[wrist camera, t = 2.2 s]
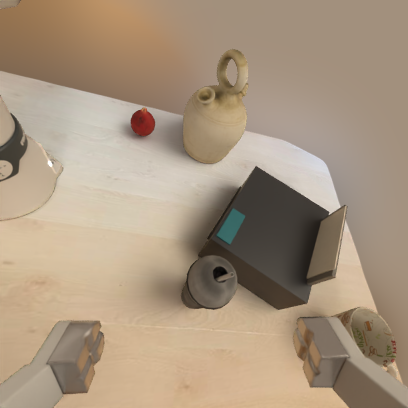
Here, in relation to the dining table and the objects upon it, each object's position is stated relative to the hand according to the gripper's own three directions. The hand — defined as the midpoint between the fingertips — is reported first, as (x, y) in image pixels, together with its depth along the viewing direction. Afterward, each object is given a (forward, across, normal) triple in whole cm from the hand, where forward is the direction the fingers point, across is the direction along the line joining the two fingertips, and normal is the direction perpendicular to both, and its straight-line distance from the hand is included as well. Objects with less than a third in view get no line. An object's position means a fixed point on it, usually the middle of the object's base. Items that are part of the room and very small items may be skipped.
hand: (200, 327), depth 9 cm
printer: (+36, -14, +20) cm, 43 cm away
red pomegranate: (+55, +15, 0) cm, 57 cm away
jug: (+57, -2, +3) cm, 57 cm away
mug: (+21, -27, +34) cm, 49 cm away
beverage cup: (+24, +1, +24) cm, 34 cm away
